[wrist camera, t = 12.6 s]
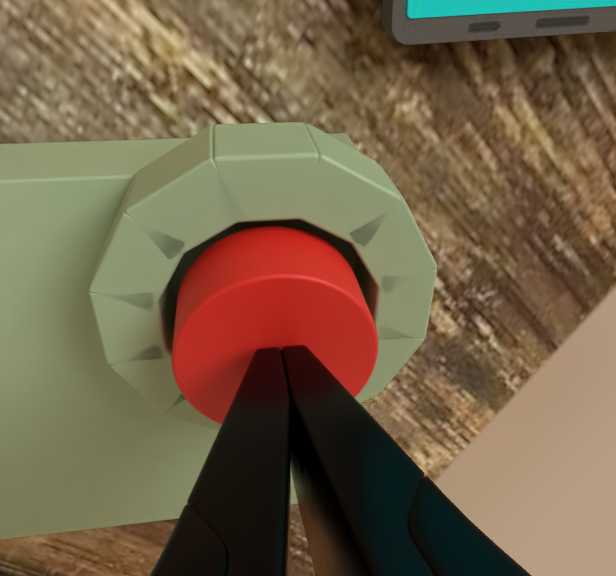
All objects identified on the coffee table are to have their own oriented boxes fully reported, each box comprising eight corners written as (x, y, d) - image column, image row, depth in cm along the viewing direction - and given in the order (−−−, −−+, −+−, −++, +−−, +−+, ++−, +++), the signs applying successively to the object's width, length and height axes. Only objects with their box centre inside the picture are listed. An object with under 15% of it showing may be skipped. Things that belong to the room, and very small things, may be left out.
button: (363, 219, 10) (389, 267, 9) (351, 364, 12) (370, 424, 11) (165, 229, 9) (156, 282, 8) (187, 379, 11) (183, 444, 10)
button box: (394, 89, 12) (460, 148, 9) (359, 441, 19) (389, 549, 16) (-363, 105, 10) (-632, 187, 7) (-107, 491, 17) (-183, 627, 14)
